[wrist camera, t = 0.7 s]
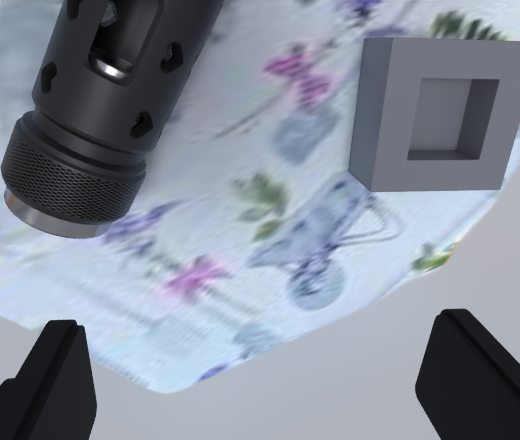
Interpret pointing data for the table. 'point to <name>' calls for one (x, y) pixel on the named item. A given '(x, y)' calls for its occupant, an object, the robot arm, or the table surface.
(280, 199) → the table surface
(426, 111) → the socket block
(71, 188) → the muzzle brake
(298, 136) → the table surface
